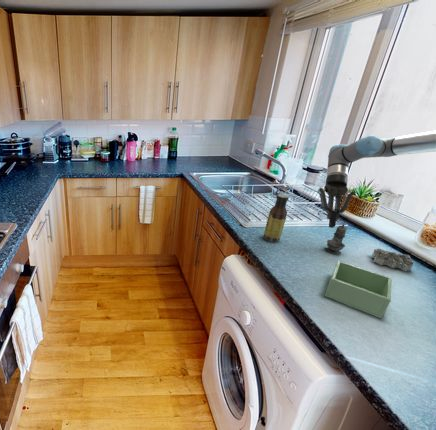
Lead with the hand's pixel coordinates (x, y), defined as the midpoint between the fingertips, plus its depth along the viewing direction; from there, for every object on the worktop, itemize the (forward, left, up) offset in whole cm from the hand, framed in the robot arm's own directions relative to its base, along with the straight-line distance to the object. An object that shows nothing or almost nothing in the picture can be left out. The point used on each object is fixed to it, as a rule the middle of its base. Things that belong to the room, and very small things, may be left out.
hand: (332, 226), depth 120 cm
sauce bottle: (+18, +17, -6) cm, 25 cm away
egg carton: (-20, +5, -6) cm, 22 cm away
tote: (-12, +37, -6) cm, 40 cm away
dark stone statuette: (-3, +10, -6) cm, 13 cm away
